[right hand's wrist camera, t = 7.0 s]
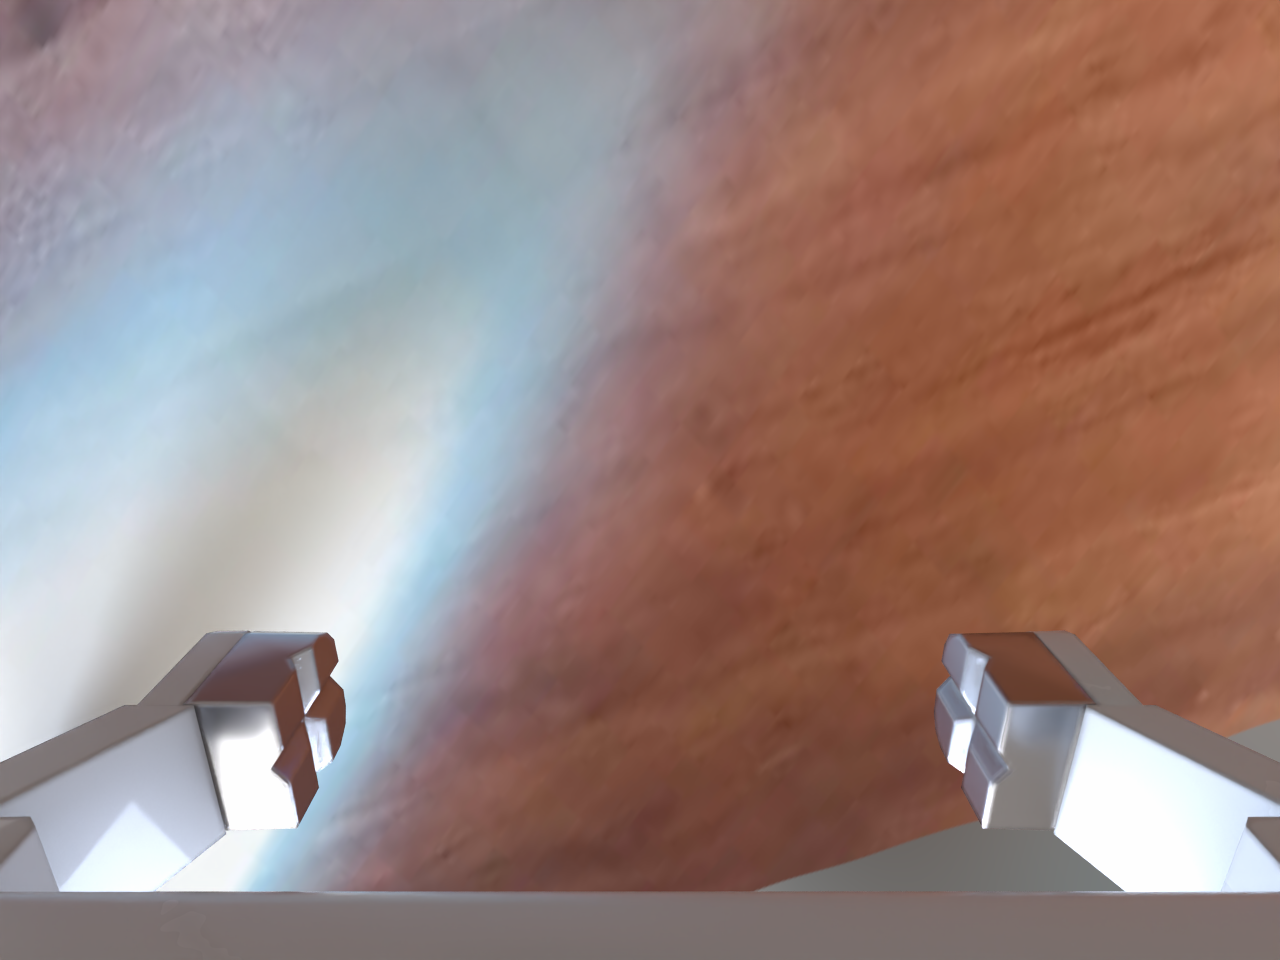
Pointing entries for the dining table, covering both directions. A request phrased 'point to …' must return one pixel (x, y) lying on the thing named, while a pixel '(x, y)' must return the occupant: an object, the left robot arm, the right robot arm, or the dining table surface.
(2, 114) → the dining table surface
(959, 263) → the dining table surface
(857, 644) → the dining table surface
